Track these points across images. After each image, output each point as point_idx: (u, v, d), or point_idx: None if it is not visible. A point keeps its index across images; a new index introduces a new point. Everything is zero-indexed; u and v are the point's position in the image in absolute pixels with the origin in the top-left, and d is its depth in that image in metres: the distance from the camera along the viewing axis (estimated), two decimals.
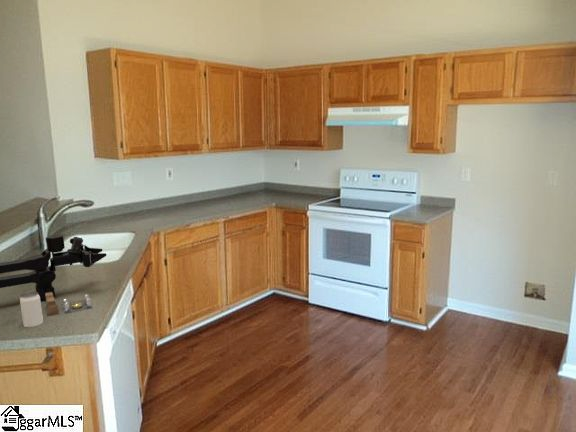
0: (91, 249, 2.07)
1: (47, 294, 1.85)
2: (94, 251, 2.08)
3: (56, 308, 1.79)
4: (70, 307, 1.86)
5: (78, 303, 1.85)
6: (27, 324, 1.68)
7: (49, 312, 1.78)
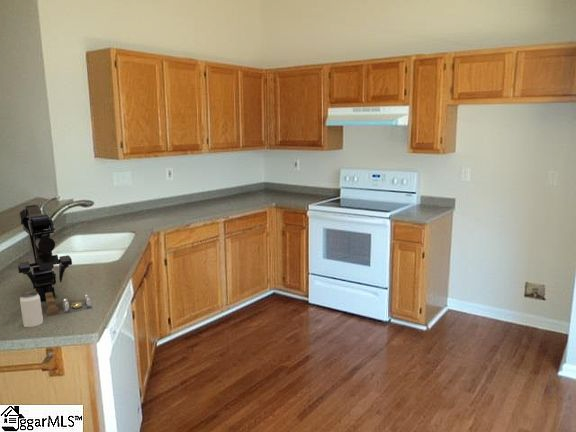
0: (60, 272, 1.85)
1: (47, 294, 1.85)
2: (59, 274, 1.86)
3: (56, 308, 1.79)
4: (70, 307, 1.86)
5: (78, 303, 1.85)
6: (27, 324, 1.68)
7: (49, 312, 1.78)
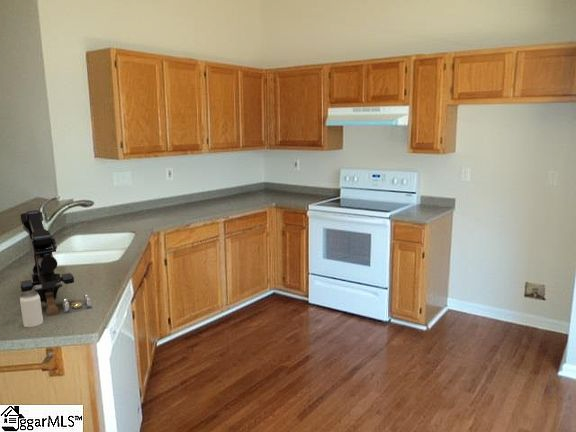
0: (53, 291, 1.85)
1: (47, 294, 1.85)
2: (53, 293, 1.86)
3: (56, 308, 1.79)
4: (70, 307, 1.86)
5: (78, 303, 1.85)
6: (27, 324, 1.68)
7: (49, 312, 1.78)
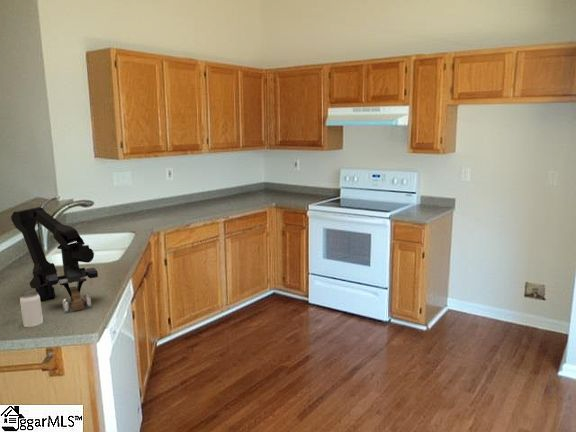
0: (78, 285, 1.88)
1: (71, 288, 1.88)
2: (77, 287, 1.89)
3: (81, 302, 1.82)
4: (70, 307, 1.86)
5: None
6: (27, 324, 1.68)
7: (74, 306, 1.81)
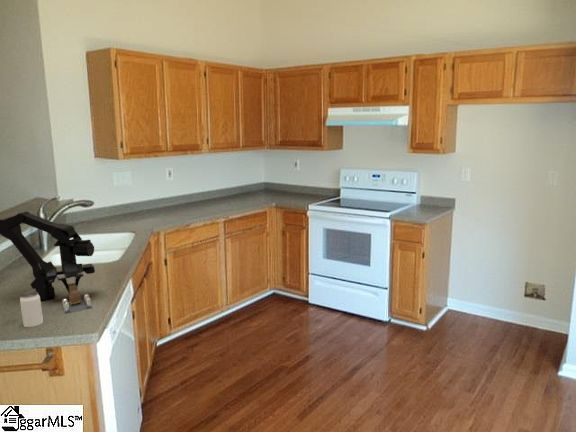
0: (75, 281, 1.94)
1: (69, 284, 1.94)
2: (75, 282, 1.95)
3: (78, 293, 1.87)
4: (70, 307, 1.86)
5: None
6: (27, 324, 1.68)
7: (72, 297, 1.86)
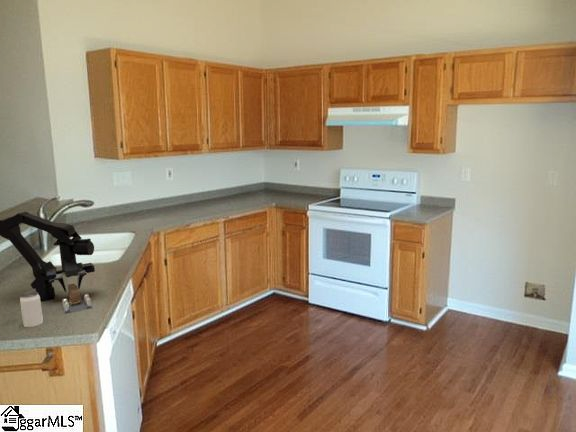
0: (78, 279, 1.95)
1: (69, 284, 1.95)
2: None
3: (78, 293, 1.88)
4: (70, 307, 1.86)
5: None
6: (27, 324, 1.68)
7: (72, 297, 1.86)
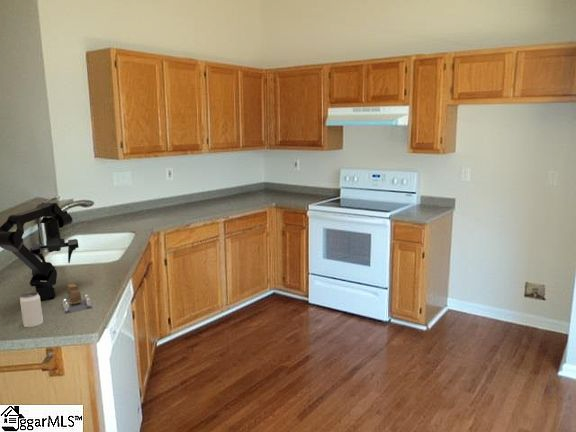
0: (68, 254, 2.03)
1: (69, 285, 1.94)
2: (68, 255, 2.05)
3: (78, 293, 1.88)
4: (70, 307, 1.86)
5: None
6: (27, 324, 1.68)
7: (72, 297, 1.86)
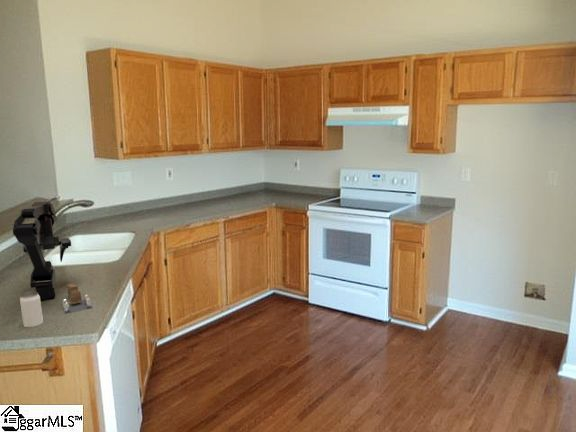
0: (60, 252, 2.07)
1: (69, 285, 1.94)
2: (60, 254, 2.08)
3: (79, 293, 1.87)
4: (70, 307, 1.86)
5: None
6: (27, 324, 1.68)
7: (72, 297, 1.86)
